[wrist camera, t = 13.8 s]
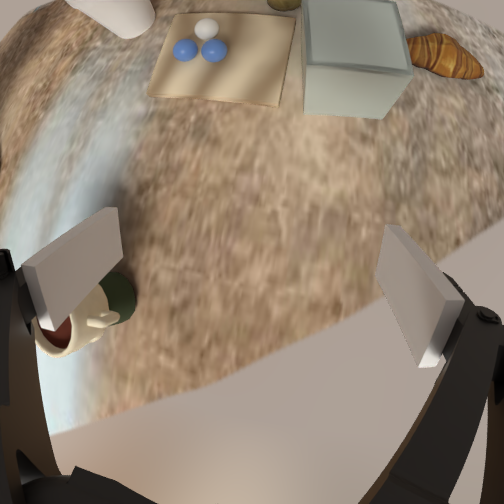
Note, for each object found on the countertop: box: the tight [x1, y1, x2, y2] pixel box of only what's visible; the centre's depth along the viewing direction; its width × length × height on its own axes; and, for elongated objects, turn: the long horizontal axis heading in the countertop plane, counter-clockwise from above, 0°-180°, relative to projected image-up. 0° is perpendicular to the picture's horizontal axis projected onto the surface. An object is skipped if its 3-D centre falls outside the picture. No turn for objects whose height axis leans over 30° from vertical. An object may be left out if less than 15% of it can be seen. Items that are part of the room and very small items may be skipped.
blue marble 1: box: [173, 39, 198, 62], centre depth 31 cm, size 3×3×3 cm
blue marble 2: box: [201, 39, 227, 63], centre depth 30 cm, size 3×3×3 cm
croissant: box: [406, 33, 484, 79], centre depth 27 cm, size 14×7×5 cm, turn 87°
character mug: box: [31, 272, 136, 358], centre depth 30 cm, size 11×7×13 cm, turn 89°
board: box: [146, 13, 296, 108], centre depth 32 cm, size 16×13×1 cm
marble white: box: [194, 18, 219, 40], centre depth 30 cm, size 3×3×3 cm
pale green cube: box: [301, 0, 414, 119], centre depth 26 cm, size 9×9×11 cm
